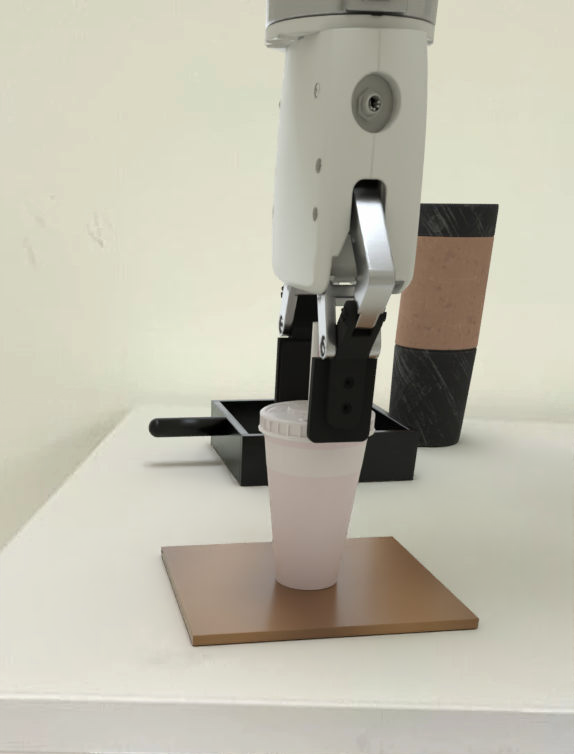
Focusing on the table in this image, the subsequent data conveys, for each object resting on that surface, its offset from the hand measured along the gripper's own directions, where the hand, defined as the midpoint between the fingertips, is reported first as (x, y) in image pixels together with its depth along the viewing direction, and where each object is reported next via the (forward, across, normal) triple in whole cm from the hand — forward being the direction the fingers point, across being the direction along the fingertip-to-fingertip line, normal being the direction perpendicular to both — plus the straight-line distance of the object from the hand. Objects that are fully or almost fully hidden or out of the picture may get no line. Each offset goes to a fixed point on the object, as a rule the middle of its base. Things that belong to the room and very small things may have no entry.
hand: (318, 422), depth 48 cm
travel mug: (+10, +37, -22) cm, 44 cm away
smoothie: (+9, 0, 0) cm, 9 cm away
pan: (+10, +30, -5) cm, 32 cm away
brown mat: (+10, 0, 0) cm, 10 cm away
